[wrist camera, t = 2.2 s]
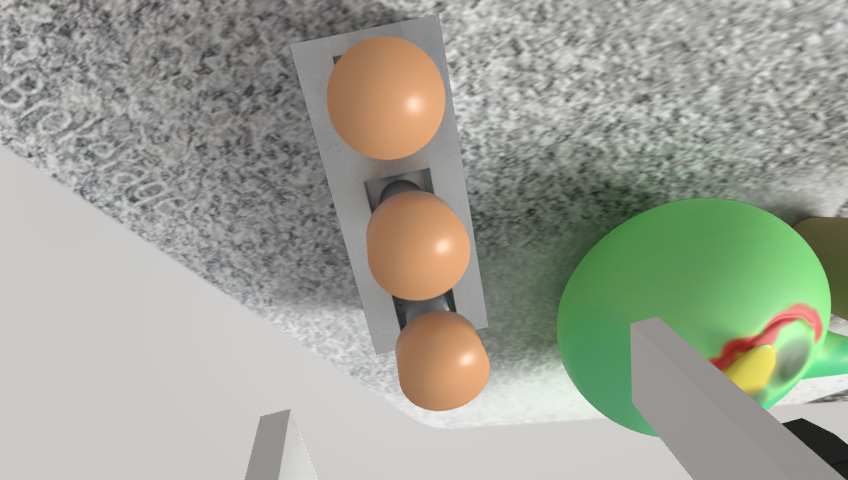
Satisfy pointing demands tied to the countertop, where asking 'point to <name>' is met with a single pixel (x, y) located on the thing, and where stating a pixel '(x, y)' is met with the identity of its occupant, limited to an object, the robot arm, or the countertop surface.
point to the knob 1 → (385, 98)
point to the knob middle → (415, 243)
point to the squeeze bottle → (830, 255)
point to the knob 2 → (439, 356)
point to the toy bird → (700, 303)
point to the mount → (388, 174)
